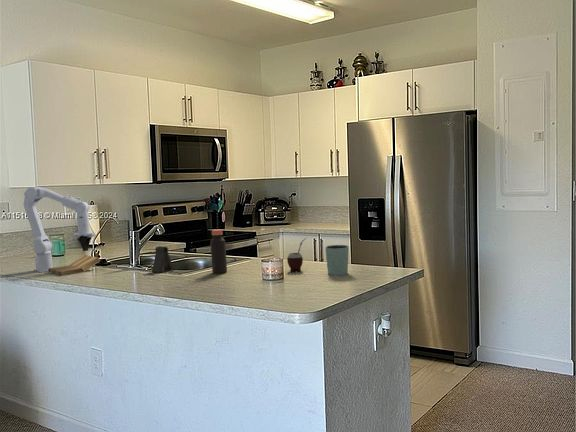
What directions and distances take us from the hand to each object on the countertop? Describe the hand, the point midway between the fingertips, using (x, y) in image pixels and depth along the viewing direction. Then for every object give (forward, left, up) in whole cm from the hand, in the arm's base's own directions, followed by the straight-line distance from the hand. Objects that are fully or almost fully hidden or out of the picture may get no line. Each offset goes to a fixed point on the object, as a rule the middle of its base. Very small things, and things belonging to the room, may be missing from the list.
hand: (85, 250), depth 297 cm
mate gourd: (+103, +54, -10) cm, 117 cm away
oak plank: (+1, -1, -7) cm, 7 cm away
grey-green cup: (+124, +59, -10) cm, 137 cm away
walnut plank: (+1, -12, -9) cm, 15 cm away
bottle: (+74, +32, -10) cm, 81 cm away
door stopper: (+45, +19, -10) cm, 50 cm away
